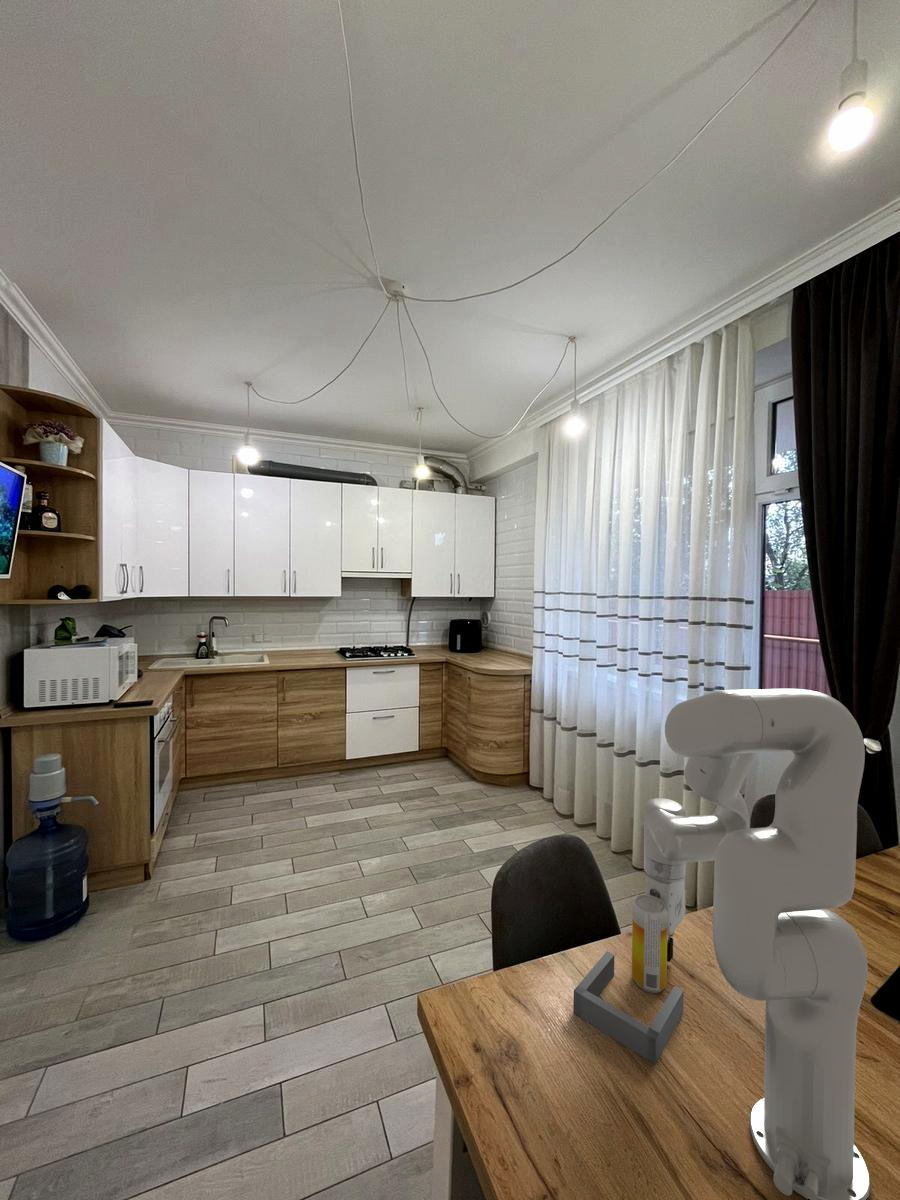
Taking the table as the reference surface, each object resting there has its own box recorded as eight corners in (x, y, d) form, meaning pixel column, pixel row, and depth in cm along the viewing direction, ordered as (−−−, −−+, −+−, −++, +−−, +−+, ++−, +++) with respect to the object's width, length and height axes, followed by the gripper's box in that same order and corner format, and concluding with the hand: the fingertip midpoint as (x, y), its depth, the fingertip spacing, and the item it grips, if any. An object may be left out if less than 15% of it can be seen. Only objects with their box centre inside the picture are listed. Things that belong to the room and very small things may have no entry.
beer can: (660, 971, 96) (661, 894, 96) (671, 996, 90) (672, 914, 90) (628, 969, 97) (629, 892, 97) (636, 993, 91) (637, 912, 91)
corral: (655, 1065, 77) (655, 1039, 77) (573, 1013, 86) (573, 990, 86) (683, 1013, 87) (683, 990, 87) (606, 971, 96) (606, 951, 96)
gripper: (670, 888, 91) (669, 988, 91) (696, 857, 102) (695, 946, 102) (630, 872, 96) (629, 967, 96) (658, 844, 107) (657, 929, 107)
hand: (663, 956), depth 99 cm, fingers closed
